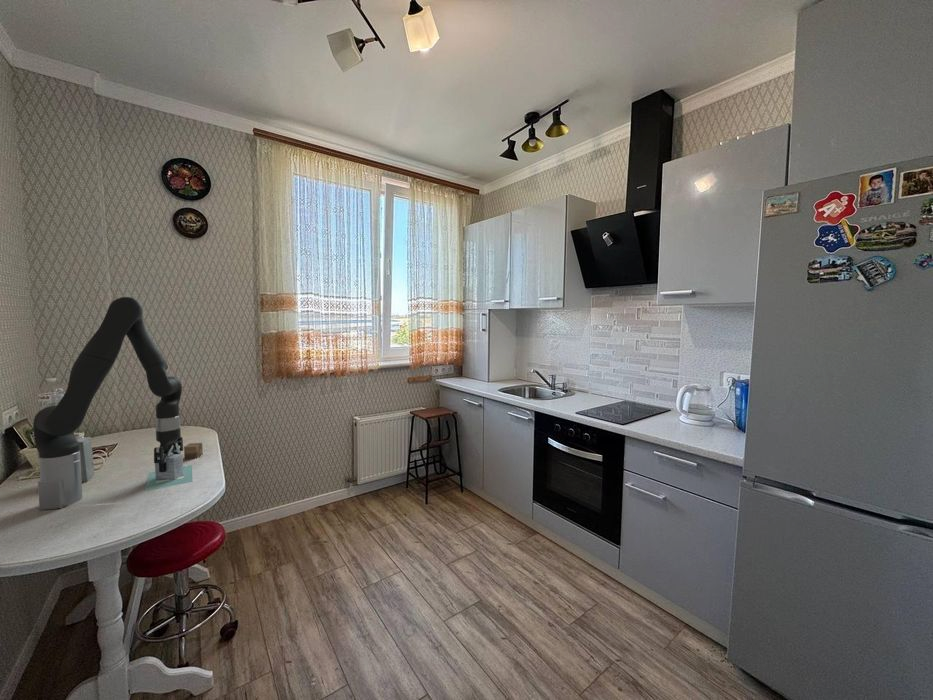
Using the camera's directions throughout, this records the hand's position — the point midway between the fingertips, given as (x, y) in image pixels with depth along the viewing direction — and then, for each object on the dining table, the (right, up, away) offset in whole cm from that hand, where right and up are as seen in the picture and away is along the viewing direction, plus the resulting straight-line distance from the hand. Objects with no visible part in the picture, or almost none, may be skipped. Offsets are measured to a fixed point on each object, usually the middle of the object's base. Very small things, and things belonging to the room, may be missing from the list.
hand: (169, 467), depth 144 cm
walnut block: (-7, -3, +22) cm, 24 cm away
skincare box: (-33, -4, -3) cm, 33 cm away
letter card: (0, -4, 0) cm, 4 cm away
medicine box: (0, -4, 0) cm, 4 cm away
